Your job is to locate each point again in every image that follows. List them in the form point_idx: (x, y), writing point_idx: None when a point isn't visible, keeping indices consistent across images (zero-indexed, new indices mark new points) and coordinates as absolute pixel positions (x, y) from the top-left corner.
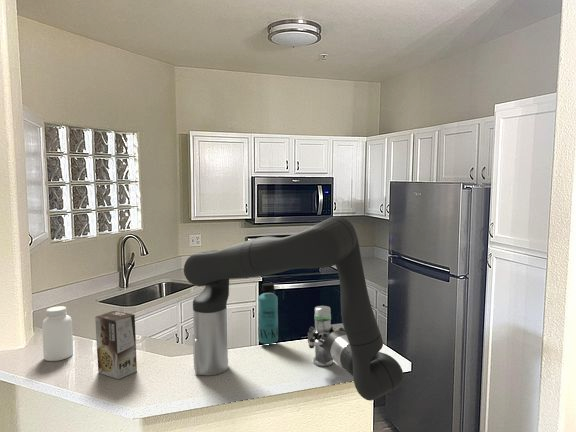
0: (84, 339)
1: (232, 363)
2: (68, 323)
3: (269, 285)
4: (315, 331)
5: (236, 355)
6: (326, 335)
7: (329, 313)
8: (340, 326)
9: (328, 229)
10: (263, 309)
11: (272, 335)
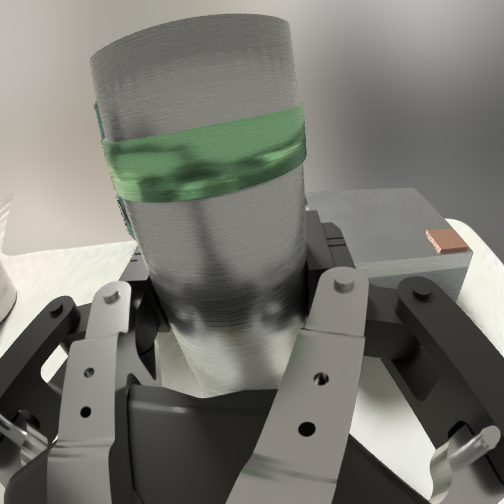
0: (8, 207)
1: (25, 304)
2: None
3: None
4: (103, 305)
5: (60, 272)
6: (60, 495)
7: (250, 79)
8: (406, 203)
9: None
10: (102, 136)
11: None
